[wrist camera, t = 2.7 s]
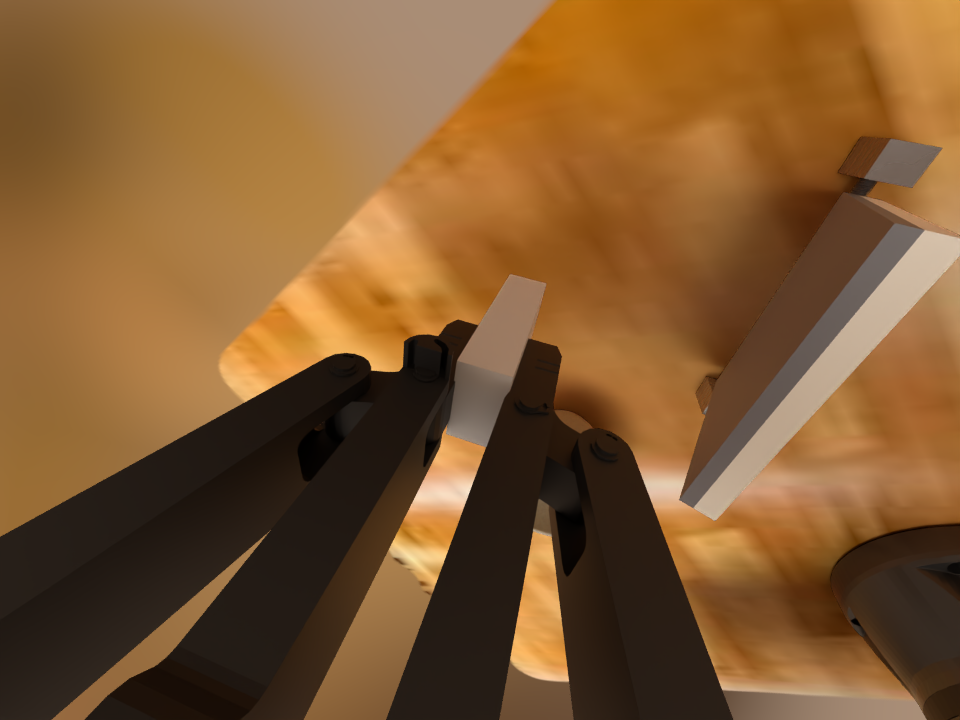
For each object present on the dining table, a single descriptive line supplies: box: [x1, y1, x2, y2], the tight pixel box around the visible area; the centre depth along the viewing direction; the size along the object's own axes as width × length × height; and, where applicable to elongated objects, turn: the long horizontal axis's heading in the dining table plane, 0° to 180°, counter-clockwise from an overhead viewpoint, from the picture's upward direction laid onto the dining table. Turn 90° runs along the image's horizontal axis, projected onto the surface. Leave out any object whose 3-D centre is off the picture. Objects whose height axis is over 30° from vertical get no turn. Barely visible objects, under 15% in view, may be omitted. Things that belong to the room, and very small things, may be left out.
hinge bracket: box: [696, 137, 942, 415], centre depth 22 cm, size 2×17×2 cm, turn 171°
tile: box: [679, 192, 960, 521], centre depth 17 cm, size 12×12×2 cm
